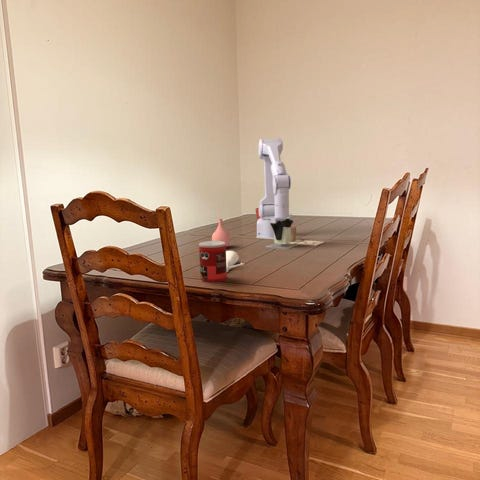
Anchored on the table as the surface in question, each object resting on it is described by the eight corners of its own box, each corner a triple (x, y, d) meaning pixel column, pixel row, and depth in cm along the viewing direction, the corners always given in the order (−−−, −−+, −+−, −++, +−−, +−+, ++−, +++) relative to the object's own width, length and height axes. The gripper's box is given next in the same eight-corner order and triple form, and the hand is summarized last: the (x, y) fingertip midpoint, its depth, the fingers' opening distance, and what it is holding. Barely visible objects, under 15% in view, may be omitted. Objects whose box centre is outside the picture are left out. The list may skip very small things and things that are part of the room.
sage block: (274, 243, 177) (274, 228, 175) (279, 241, 181) (279, 226, 180) (285, 244, 174) (285, 229, 173) (290, 242, 178) (290, 227, 177)
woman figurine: (247, 248, 154) (241, 264, 137) (247, 261, 155) (241, 277, 138) (214, 248, 155) (204, 263, 138) (215, 260, 156) (205, 277, 139)
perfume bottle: (212, 246, 182) (211, 217, 180) (230, 246, 182) (230, 217, 180) (211, 250, 175) (210, 220, 173) (230, 249, 175) (229, 219, 173)
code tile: (295, 244, 182) (295, 243, 182) (305, 240, 190) (305, 240, 190) (315, 246, 178) (315, 245, 178) (324, 242, 185) (324, 241, 185)
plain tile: (274, 242, 188) (274, 241, 188) (284, 239, 195) (284, 238, 195) (293, 244, 183) (293, 243, 183) (302, 240, 190) (302, 240, 190)
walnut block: (281, 241, 188) (281, 227, 187) (285, 239, 192) (285, 226, 191) (292, 242, 186) (292, 228, 185) (296, 240, 190) (296, 226, 189)
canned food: (200, 276, 135) (198, 241, 133) (226, 275, 136) (225, 240, 134) (200, 283, 128) (198, 245, 126) (227, 281, 128) (226, 244, 126)
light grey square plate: (265, 248, 176) (265, 246, 176) (277, 243, 185) (277, 242, 184) (287, 250, 171) (287, 248, 171) (298, 245, 179) (298, 244, 179)
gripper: (282, 207, 167) (282, 242, 169) (298, 203, 178) (298, 236, 181) (265, 206, 170) (266, 241, 173) (283, 203, 182) (283, 235, 185)
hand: (281, 238), depth 177 cm, fingers closed on sage block, 5 cm apart
